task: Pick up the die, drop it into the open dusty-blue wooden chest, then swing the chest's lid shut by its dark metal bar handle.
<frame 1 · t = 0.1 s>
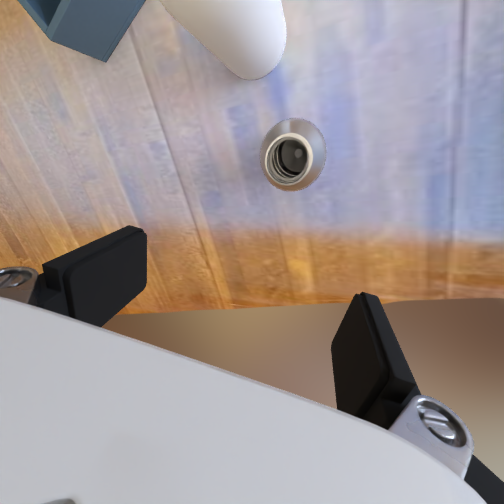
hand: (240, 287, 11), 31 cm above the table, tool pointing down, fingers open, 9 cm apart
silver metal bottle: (298, 152, 36), on the table
alcohol: (254, 42, 32), on the table
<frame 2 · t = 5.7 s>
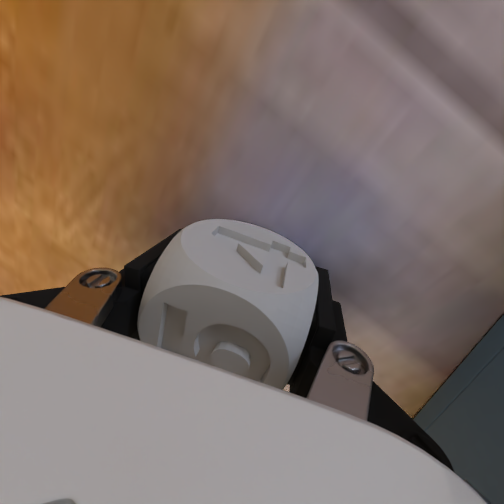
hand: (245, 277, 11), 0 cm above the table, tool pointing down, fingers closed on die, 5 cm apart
die: (248, 270, 12), on the table, touching gripper
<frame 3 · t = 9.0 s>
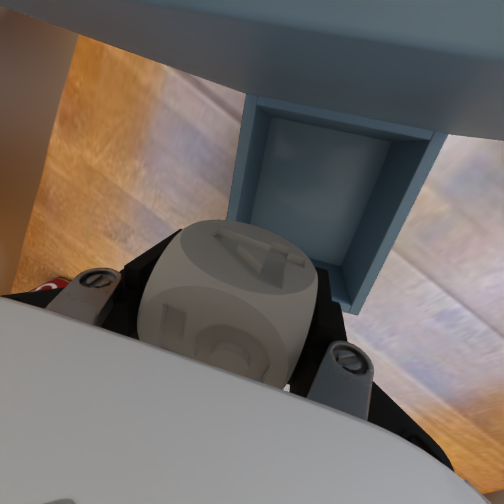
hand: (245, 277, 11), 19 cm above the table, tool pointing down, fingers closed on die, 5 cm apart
chest: (309, 196, 28), on the table
lid: (399, 9, 8), point 18 cm above the table, hinge at 85.0°
die: (248, 271, 12), point 18 cm above the table, touching gripper
when the fingers open (6 cm above the table, at t = 12.8 s): die drops 5 cm, resting on chest.
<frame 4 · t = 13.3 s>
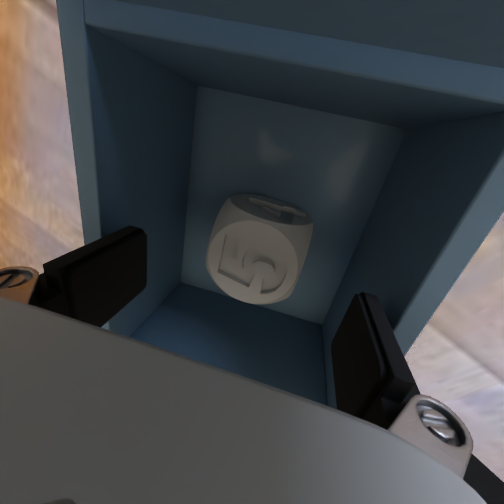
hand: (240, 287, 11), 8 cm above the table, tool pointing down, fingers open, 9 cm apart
chest: (270, 218, 17), on the table
die: (266, 232, 17), point 1 cm above the table, touching chest
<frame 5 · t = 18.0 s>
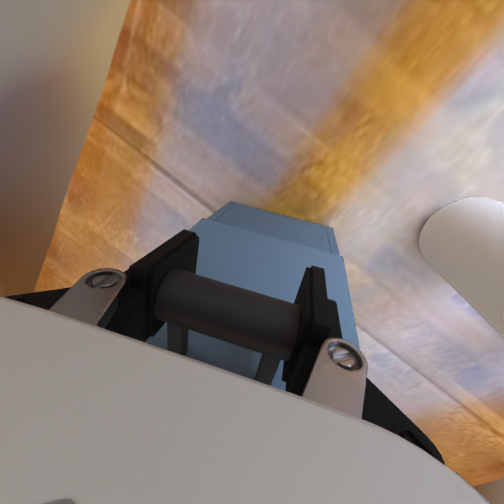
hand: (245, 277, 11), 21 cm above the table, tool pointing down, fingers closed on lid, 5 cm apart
chest: (266, 265, 35), on the table
lid: (255, 266, 15), point 18 cm above the table, hinge at 85.0°, touching gripper
alcohol: (458, 233, 28), on the table
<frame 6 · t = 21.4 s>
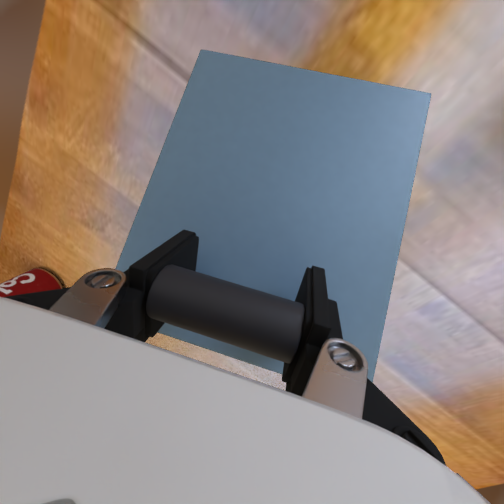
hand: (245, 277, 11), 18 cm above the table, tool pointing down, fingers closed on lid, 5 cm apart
lid: (272, 181, 11), point 16 cm above the table, hinge at 35.6°, touching gripper
soda can: (51, 282, 42), on the table
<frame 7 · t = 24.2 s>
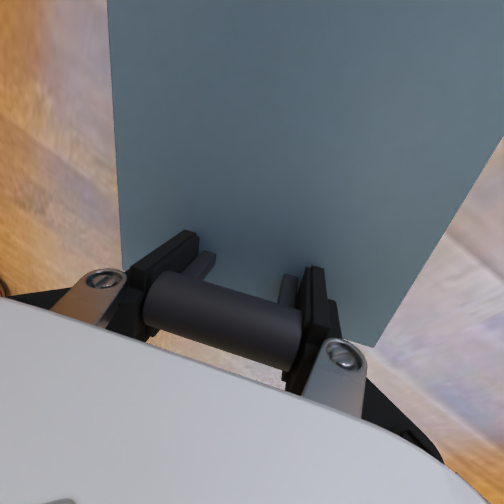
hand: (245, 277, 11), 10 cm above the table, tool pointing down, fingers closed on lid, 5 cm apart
lid: (271, 132, 7), point 12 cm above the table, hinge at -0.2°, touching chest, gripper
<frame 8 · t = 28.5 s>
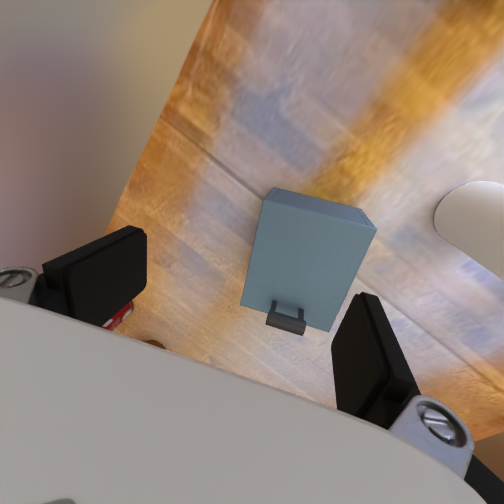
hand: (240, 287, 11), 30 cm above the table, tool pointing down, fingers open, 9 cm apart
chest: (302, 243, 41), on the table
lid: (298, 279, 31), point 12 cm above the table, hinge at -0.2°, touching chest
soda can: (121, 301, 56), on the table
alcohol: (466, 211, 34), on the table
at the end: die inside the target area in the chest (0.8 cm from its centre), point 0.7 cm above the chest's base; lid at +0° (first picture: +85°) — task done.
